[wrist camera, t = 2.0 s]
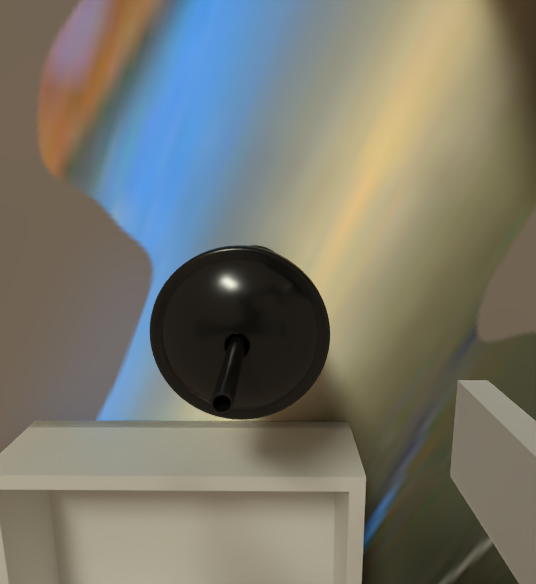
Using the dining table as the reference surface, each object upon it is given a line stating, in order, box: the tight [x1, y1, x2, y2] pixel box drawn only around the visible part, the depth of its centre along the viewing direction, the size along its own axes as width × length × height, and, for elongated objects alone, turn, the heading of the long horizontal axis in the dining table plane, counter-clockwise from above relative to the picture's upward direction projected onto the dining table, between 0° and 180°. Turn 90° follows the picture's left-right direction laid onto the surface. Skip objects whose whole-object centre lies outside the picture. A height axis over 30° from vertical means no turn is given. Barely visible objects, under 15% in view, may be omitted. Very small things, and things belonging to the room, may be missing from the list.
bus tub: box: [0, 421, 366, 584], centre depth 33 cm, size 24×18×7 cm
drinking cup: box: [150, 245, 330, 419], centre depth 23 cm, size 8×8×20 cm
